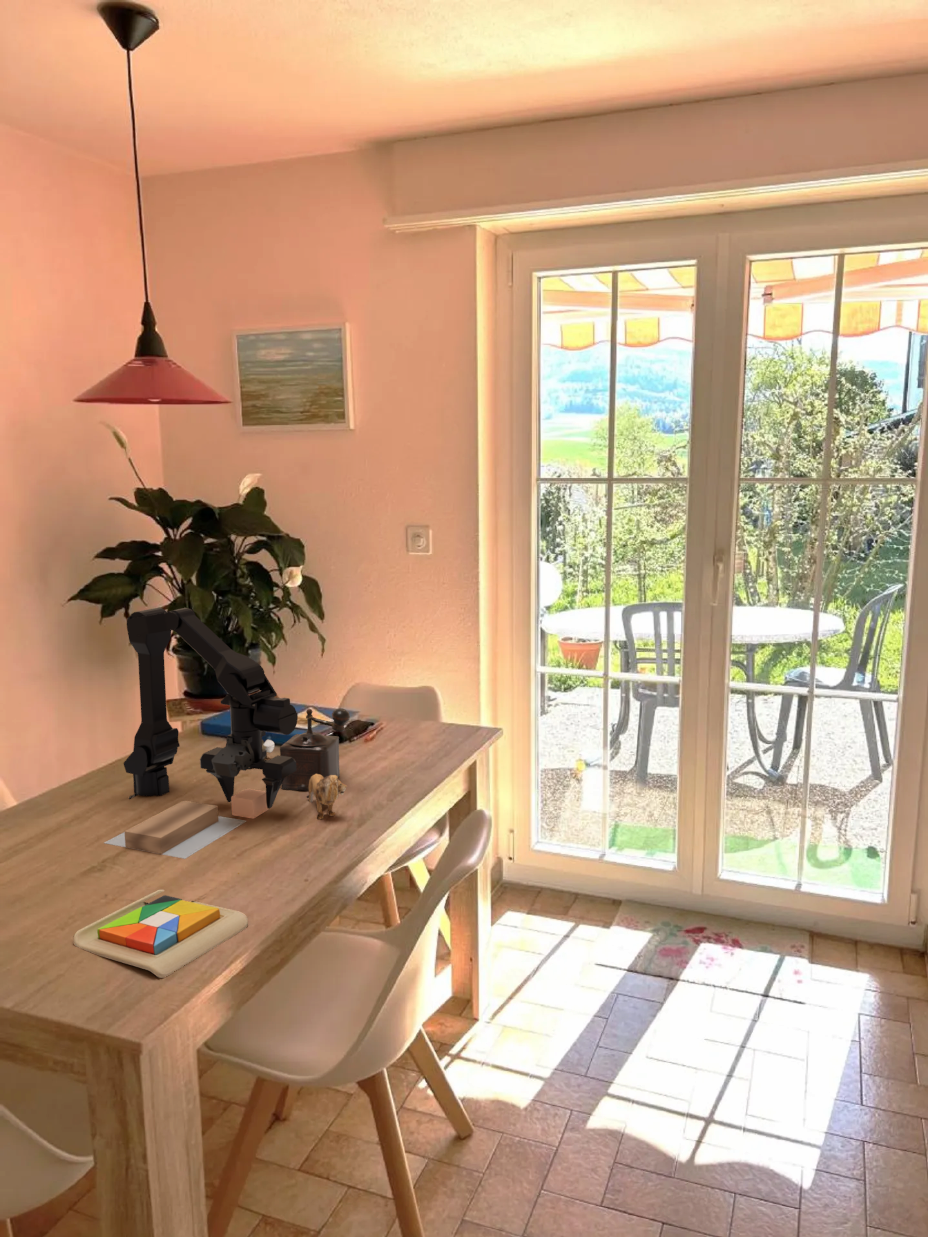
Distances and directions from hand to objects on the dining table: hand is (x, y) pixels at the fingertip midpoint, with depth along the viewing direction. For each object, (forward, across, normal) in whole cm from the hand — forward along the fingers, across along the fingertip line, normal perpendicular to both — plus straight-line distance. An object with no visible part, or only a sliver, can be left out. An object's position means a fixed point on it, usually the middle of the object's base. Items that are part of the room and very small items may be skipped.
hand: (249, 804), depth 175 cm
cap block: (+3, 0, 0) cm, 3 cm away
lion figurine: (+3, +12, +8) cm, 15 cm away
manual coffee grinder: (+3, +3, +22) cm, 22 cm away
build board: (+3, -7, -13) cm, 15 cm away
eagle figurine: (+3, -19, +28) cm, 34 cm away
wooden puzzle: (+4, +14, -42) cm, 44 cm away
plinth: (+2, -7, -14) cm, 16 cm away
